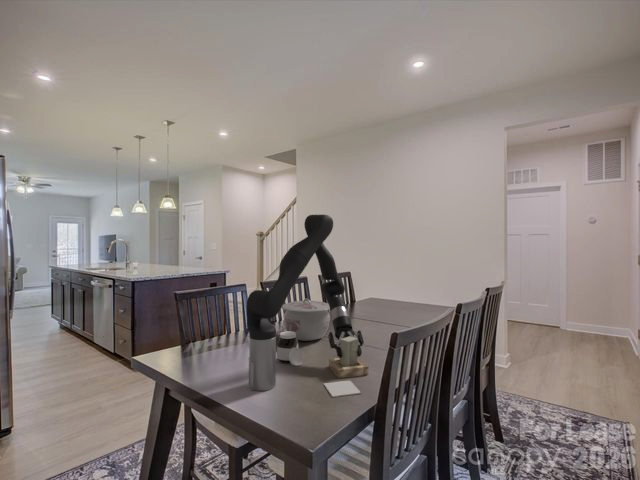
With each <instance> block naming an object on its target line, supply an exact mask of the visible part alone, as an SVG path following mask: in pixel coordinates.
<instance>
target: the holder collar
mask: <svg viewBox="0 0 640 480" xmlns="http://www.w3.org/2000/svg"><path fill="white" fill-rule="evenodd" d="M328 367H329V369H331V371H332V372H333V373H334V374H335V375H336V377H337V378H338V379H341V378H349V377H359V376H366V375H367V376H368V375H369V366H368V365H367V364H366V363H365V362H364V361H362V359H360V358H359V357H358V366H351V367H341V366H340V358H339V357H335V358H329V359H328Z"/></svg>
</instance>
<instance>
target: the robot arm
mask: <svg viewBox="0 0 640 480" xmlns="http://www.w3.org/2000/svg"><path fill="white" fill-rule="evenodd" d="M303 226H304V230H305V233H306V235H307V236H306V237H304V238H303V239H302V240H300V241H298V242H296V244H294V245H292V246H291V247H290V248H289V249H288V250H287V252H286V253H285V255H283V257H282V259H281V261H280V263H279V268H278V269H279V272H278V278H277V280H276V281H275V283H274V284H273V285H272V287H271V288H270V290H269V291H268V290H262V289H255V290H254V291H252V292H250V294H249V295H248V296H247V300H246V305H245V306H246V309H245V310H246V327H247V331H248V334H249V336H248V337H249V341H248V342H249V347H248V348H249V349H248V350H249V352H248V353H249V354H248V356H249V357H248V388H249V391H258V392H259V391H261V392H263V391H269V390H271V389H274V388H275V387H276V386H277V385H276V383H277V378H276V377H277V375H276V373H277V370H276V369H277V364H276V363H277V330H276V327H275V326H274V325H273V324H272V322H270V319H273V318H275V317H276V316H277V315H278V314H279V313H280V311H281V309H282V306H283V304H285V302H286V300H287V298H288V295H289V294H290V292H291V290H292V289H293V287H294V285H295V284H296V282H297V281H298V279H299V277H300V276H301V275H302V273H303V272H304V270H305V269H306V267H307V266H308V264H309V263H310V261H311V260H312V258H313V256H314V255H315V257H316V259H317V261H318V265H319V269H320V273H321V277H322V278H323V279H324V280H327V281H326V282H323V283H322V285H321V287H320V288H321V293H322V295H323V296H324V298H325V299H326V301H327V303H328V304H329V307H330V310H329V311H330V319H331V322H332V326H333V330H334V332H331V331H329V333H328V335H327V337H328V342H329V346H330V349H335V352H336V356H337V358H342V352H341V348H340V339H343V338H346V337H349V336H351V337H355V338H358V358H359V357H361V356H362V348H361V347H363V345H364V343H365V341H364V338H363V334H362V331H361V330H360V329H359V330H358V331H355V330H354V329H353V326H352V322H351V318H350V315H349V311H348V309H347V305H346V302H345V300H344V298H343V297H342V296H341V295H343V294H344V293H345V291H346V288H345V284H344V282H343V280H342V279H341V278H340V276H339V274H338V273H339V272H338V270H337V266H336V262H335V259H334V257H333V255H332V254H331V253H330V251H329V249H328V248H327V247H326V246H325V244H324V242H325V241H326V240H327V239H328V238H329V236H330V234H332V231H333V229H334V220H333V218H332V216H330V215H328V214H310V215H308V216H307V217H306V218H305V219H304V225H303ZM328 280H329V281H328ZM334 338H336V339H337V342H336V343H335V339H334Z"/></svg>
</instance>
